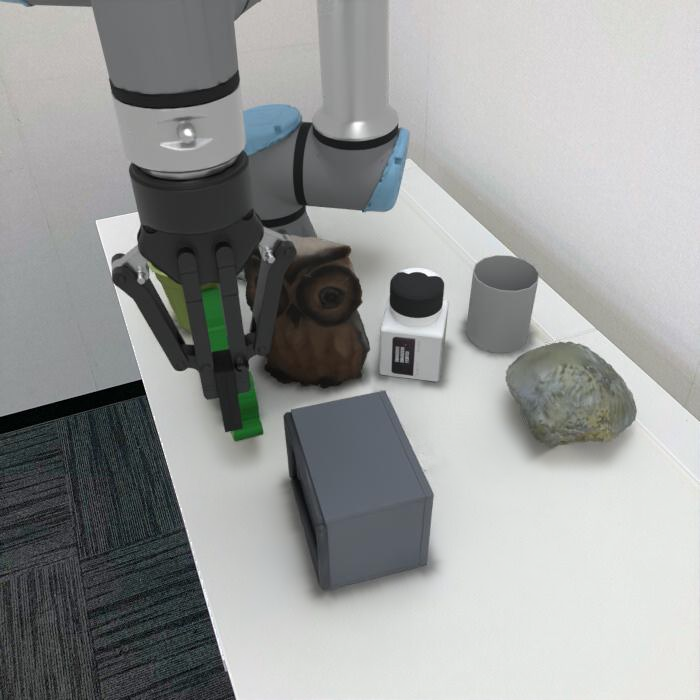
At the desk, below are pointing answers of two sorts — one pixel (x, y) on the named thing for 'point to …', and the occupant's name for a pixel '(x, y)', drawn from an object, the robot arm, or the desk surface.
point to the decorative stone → (570, 394)
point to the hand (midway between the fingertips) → (231, 419)
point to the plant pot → (177, 296)
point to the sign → (219, 342)
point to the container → (414, 326)
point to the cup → (501, 303)
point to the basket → (357, 489)
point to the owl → (315, 316)
